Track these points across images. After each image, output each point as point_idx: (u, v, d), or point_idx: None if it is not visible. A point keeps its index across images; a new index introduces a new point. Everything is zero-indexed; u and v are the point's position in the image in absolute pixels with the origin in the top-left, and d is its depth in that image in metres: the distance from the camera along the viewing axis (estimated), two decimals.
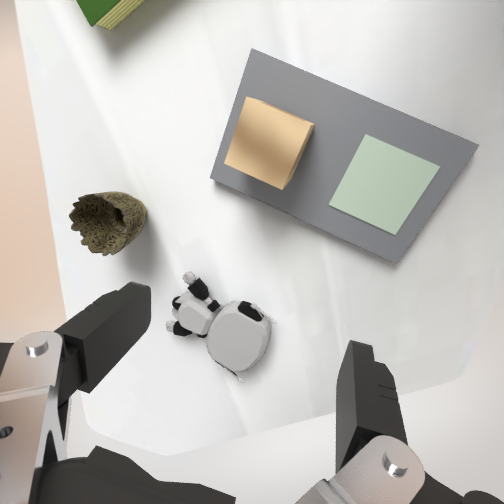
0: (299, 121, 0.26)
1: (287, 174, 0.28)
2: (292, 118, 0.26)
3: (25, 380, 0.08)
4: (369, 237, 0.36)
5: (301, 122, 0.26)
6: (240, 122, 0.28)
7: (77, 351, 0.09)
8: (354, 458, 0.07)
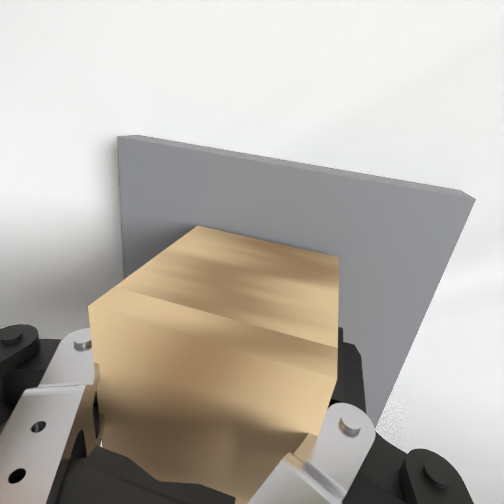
0: None
1: None
2: None
3: (67, 375, 0.08)
4: None
5: None
6: (239, 358, 0.07)
7: None
8: None
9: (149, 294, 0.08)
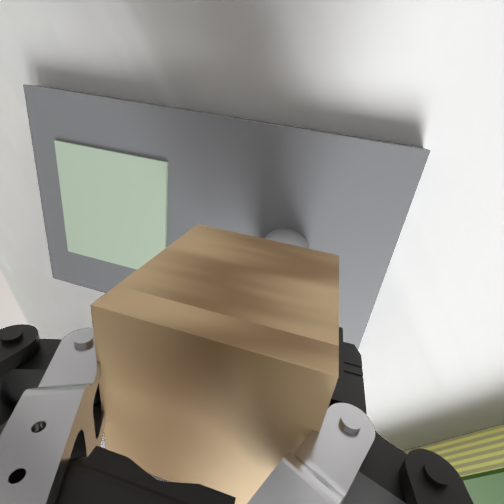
0: None
1: (147, 470, 0.10)
2: None
3: (68, 375, 0.08)
4: (83, 120, 0.19)
5: None
6: (242, 357, 0.07)
7: None
8: None
9: (151, 293, 0.08)
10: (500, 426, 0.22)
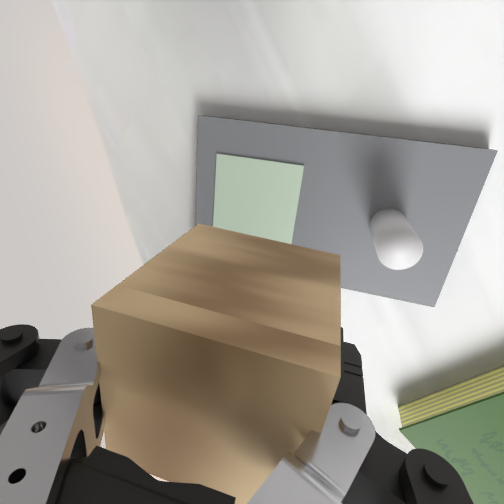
0: None
1: (148, 470, 0.10)
2: None
3: (68, 375, 0.08)
4: (241, 139, 0.28)
5: None
6: (243, 357, 0.07)
7: None
8: None
9: (152, 292, 0.08)
10: None
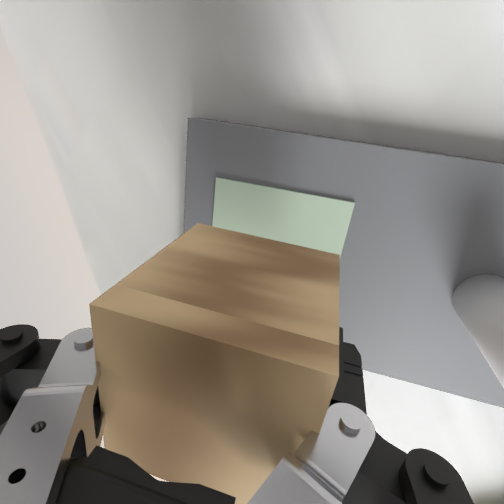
0: None
1: (146, 470, 0.10)
2: None
3: (67, 375, 0.08)
4: (256, 157, 0.18)
5: None
6: (241, 356, 0.07)
7: None
8: None
9: (151, 292, 0.08)
10: None
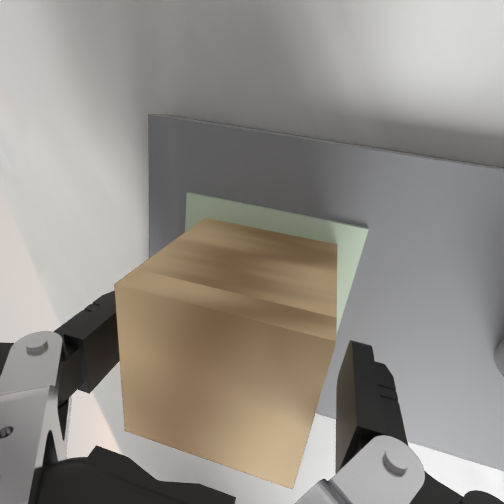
0: (294, 468, 0.10)
1: (163, 441, 0.11)
2: (298, 455, 0.09)
3: (25, 380, 0.08)
4: (238, 166, 0.13)
5: (293, 472, 0.10)
6: (250, 326, 0.08)
7: (77, 351, 0.09)
8: (354, 458, 0.07)
9: (167, 275, 0.09)
10: None
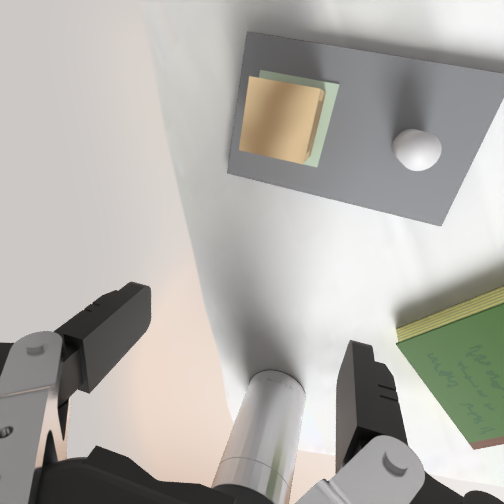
0: (304, 152, 0.27)
1: (254, 151, 0.28)
2: (305, 144, 0.27)
3: (25, 381, 0.08)
4: (285, 56, 0.31)
5: (303, 154, 0.27)
6: (294, 87, 0.25)
7: (77, 351, 0.09)
8: (354, 458, 0.07)
9: None
10: None
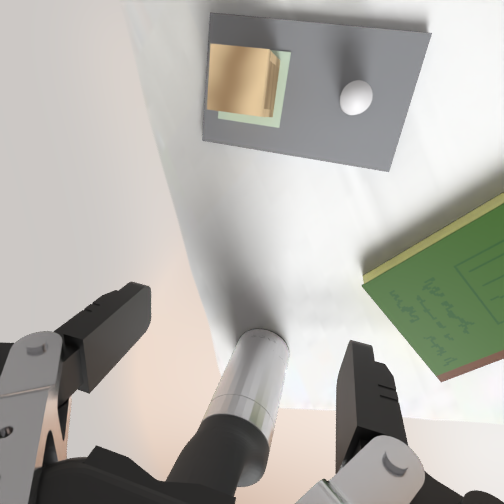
0: (261, 106, 0.32)
1: (219, 109, 0.33)
2: (261, 99, 0.32)
3: (25, 380, 0.08)
4: (243, 31, 0.36)
5: (260, 108, 0.32)
6: (247, 49, 0.31)
7: (77, 351, 0.09)
8: (354, 458, 0.07)
9: None
10: (471, 211, 0.38)
